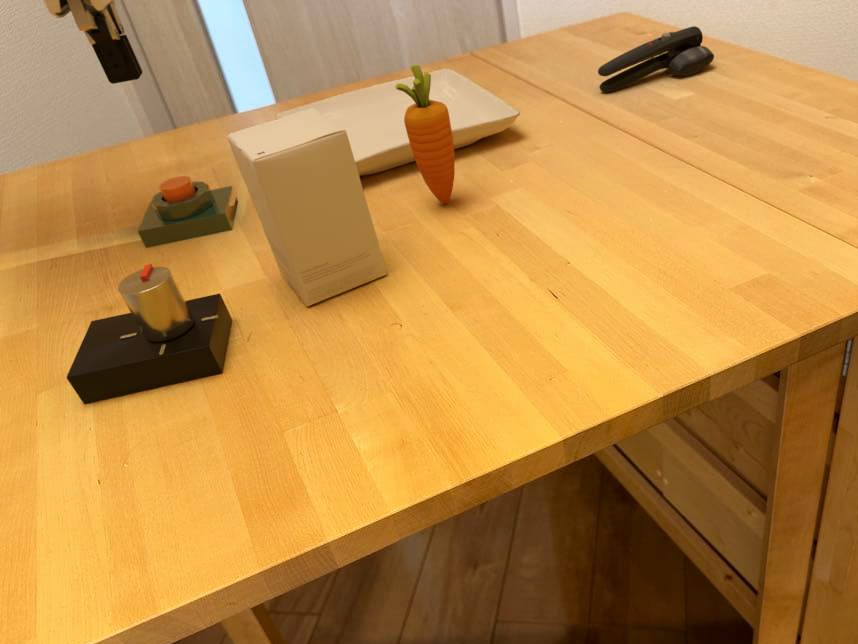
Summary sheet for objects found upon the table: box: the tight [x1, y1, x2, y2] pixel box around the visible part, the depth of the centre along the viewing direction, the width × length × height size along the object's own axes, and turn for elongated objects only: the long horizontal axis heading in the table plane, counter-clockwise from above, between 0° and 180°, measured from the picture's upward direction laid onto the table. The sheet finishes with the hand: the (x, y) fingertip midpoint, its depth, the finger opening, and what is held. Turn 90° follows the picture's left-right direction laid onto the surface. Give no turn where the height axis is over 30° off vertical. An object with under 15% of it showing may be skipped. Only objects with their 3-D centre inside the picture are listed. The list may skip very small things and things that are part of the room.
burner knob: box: [117, 263, 194, 342], centre depth 67 cm, size 4×4×5 cm
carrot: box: [396, 64, 456, 205], centre depth 83 cm, size 5×5×15 cm
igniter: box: [137, 181, 239, 249], centre depth 91 cm, size 10×8×4 cm
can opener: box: [597, 25, 715, 93], centre depth 109 cm, size 18×7×6 cm, turn 114°
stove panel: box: [66, 293, 233, 405], centre depth 69 cm, size 12×9×3 cm
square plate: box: [275, 68, 521, 177], centre depth 104 cm, size 27×27×4 cm
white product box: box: [227, 108, 388, 307], centre depth 74 cm, size 9×9×15 cm
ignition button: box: [158, 175, 196, 202], centre depth 89 cm, size 4×4×2 cm
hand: (126, 78), depth 81 cm, fingers closed
